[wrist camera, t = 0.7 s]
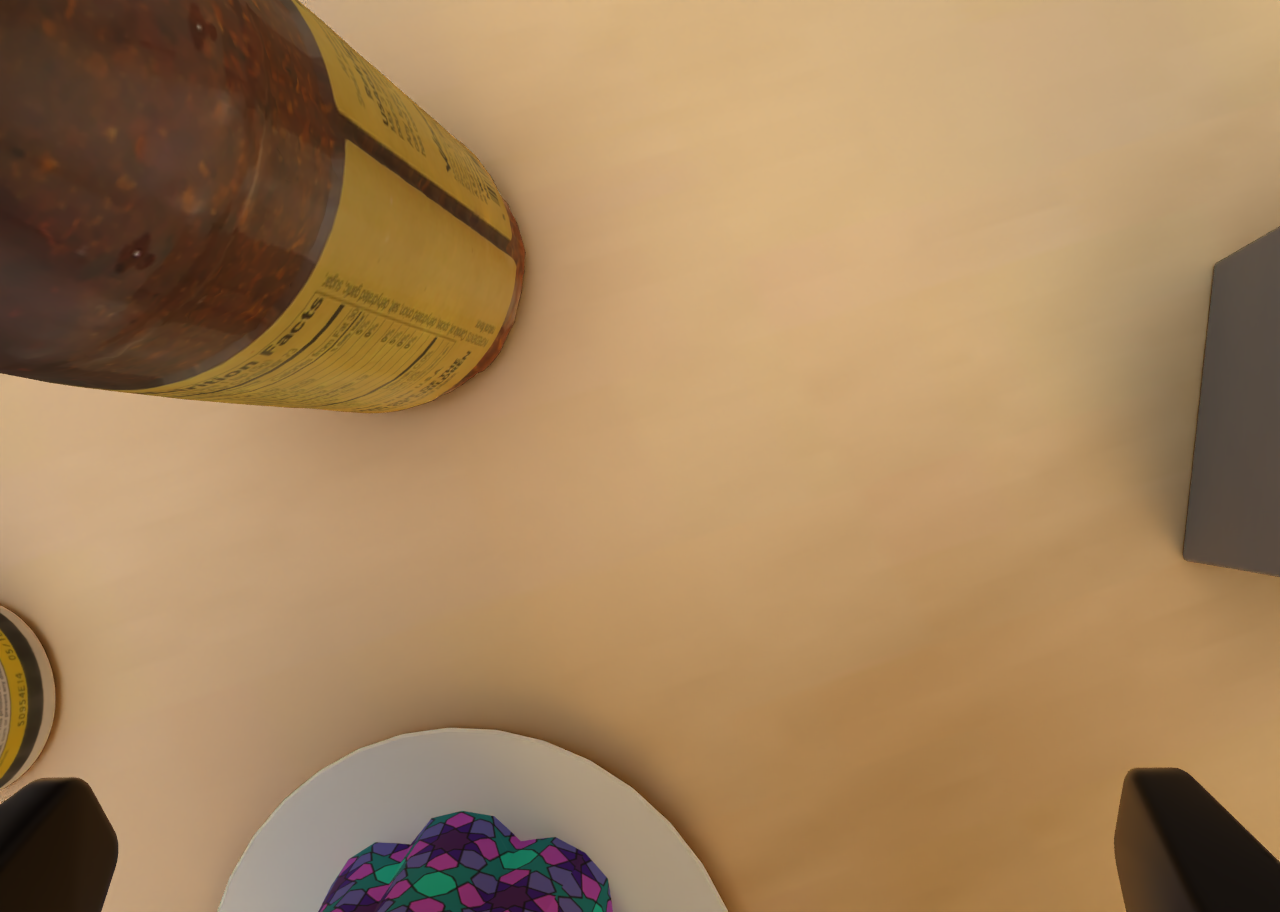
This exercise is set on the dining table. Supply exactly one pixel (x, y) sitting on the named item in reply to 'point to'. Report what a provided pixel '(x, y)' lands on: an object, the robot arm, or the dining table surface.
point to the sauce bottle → (236, 213)
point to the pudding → (467, 835)
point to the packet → (1240, 418)
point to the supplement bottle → (22, 697)
